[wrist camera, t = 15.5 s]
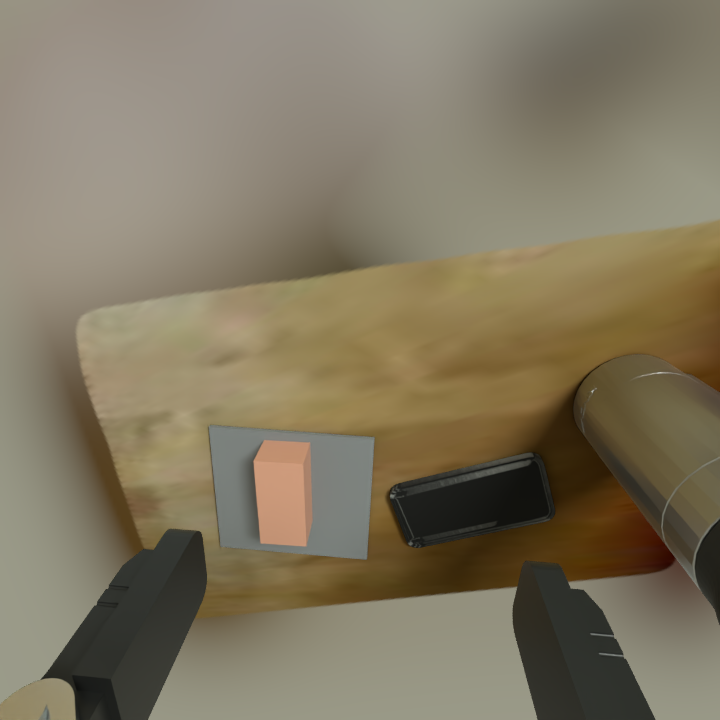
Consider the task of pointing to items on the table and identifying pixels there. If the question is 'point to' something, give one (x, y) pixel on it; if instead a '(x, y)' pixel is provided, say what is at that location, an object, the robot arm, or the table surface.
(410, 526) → the phone
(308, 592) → the table surface
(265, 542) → the block
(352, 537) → the mat
